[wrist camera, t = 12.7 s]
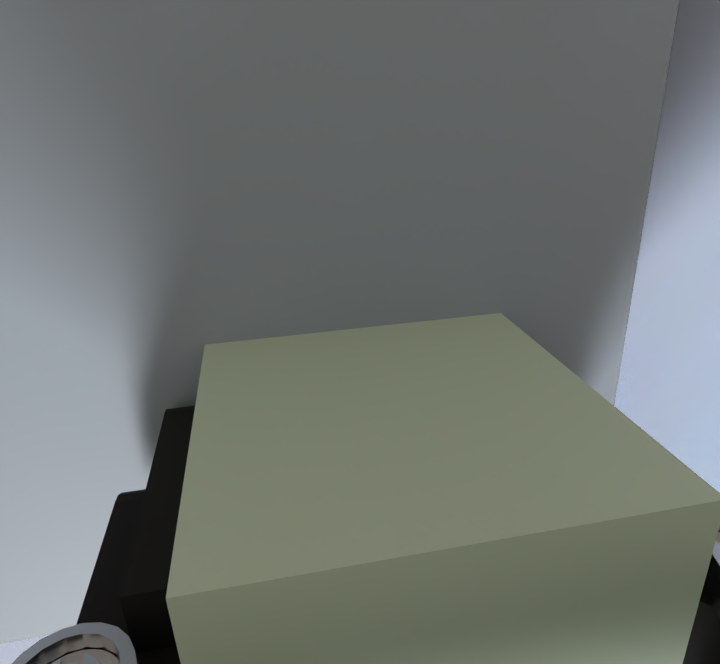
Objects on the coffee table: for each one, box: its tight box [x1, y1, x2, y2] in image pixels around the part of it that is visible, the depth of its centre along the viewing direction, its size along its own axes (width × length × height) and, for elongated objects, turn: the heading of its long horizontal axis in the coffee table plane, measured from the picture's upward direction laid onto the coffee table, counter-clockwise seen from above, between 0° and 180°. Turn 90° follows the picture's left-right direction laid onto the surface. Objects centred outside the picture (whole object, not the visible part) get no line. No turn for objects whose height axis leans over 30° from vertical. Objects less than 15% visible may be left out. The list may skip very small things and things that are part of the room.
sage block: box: [166, 313, 720, 664], centre depth 8 cm, size 5×5×5 cm
